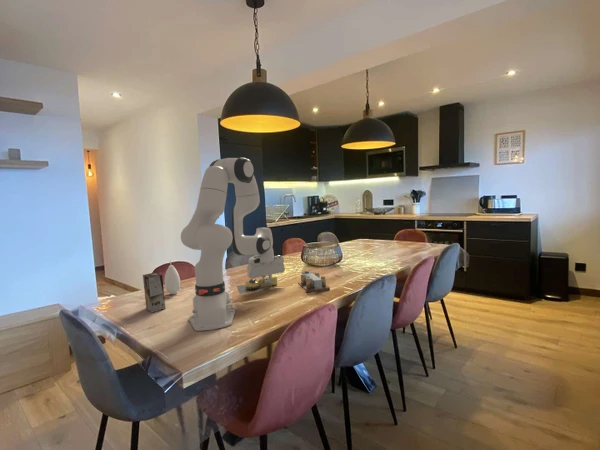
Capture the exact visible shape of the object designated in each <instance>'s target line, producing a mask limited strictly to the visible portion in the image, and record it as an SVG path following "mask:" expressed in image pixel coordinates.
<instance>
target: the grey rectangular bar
mask: <svg viewBox="0 0 600 450" xmlns="http://www.w3.org/2000/svg"><path fill="white" fill-rule="evenodd" d="M301 274H305V278H311V287H312V288H313V289H321V288H322V279H321V277H320V278H318V277H317V276H315V273H313V272H312V271H309V270H305V271H303V272H301Z"/></svg>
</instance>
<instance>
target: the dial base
mask: <svg viewBox="0 0 600 450" xmlns="http://www.w3.org/2000/svg"><path fill="white" fill-rule="evenodd" d="M236 287H237V288H236V289H237V291H238V293H239V294H240V295H241V294H249V293H256V292H263V291H270V290H275V288H274V285H270V286H262V287H260V288H257V289H246V287H245V284H240V285H236Z"/></svg>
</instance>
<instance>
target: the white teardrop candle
mask: <svg viewBox="0 0 600 450" xmlns="http://www.w3.org/2000/svg"><path fill="white" fill-rule="evenodd" d="M164 287H165V290H166V292H167V293H169V294H170V295H176V294H177V293H178V292H179V291H180V288H181V278H180V273H178V270H177V269H176V267H175V266H174V265H172V261H171V260H170V265H168V268H167V269H166V271H165V275H164Z"/></svg>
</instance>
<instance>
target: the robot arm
mask: <svg viewBox="0 0 600 450" xmlns="http://www.w3.org/2000/svg"><path fill="white" fill-rule="evenodd" d="M229 183H230V184H233V186H234V192H235V205H234V206H233V207H232V209H231V211H232V212H231V228H232V229H230V228H229V227H228V226H226V225H223V224H219V223H216V222H217V220H218V219H219V218H220V216H222V215H223V214H224V212H225V208H226V203H227V196H228V188H229V187H228V186H229V185H228V184H229ZM260 199H261V198H260V192H259V187H258V183H257V180H256V176H255V167H254V163H253V162H252V161H251V159H249V158H246V157H225V158H221V159H216V160H213V161H212V162H211V163H210V164H209V166H208V167H206V169H205V171H204V174H203V177H202V181H201V183H200V188H199V195H198V198H197V203H196V208H195V211H194V212H193V215H192V216H191V219H190V221H189V222H188V224H187V225H186V226H185V227H184V228H183V229H182V231H181V233H180V240H181V243H182V244H183V246H185V247H187V248H189V249H192V250H195V251H196V250H197V251H200V256H199V260H198V262H196V264H195V265H194V275H195V284H194V290H195V292H194V293H195V296H194V297H193V298H192V315H190V316H188V320H189V322H190V324H191V326H192V328H193V330H194V331H196V332H197V331H199V332H200V331H201V332H203V331H212V330H217V329H222V328H226V327H229V326H231V325H232V324H233V323H234V322H233V321H234V318H235V315H236V309H235V308H234V309H232V303H231V298H230V294H229V292H227V291H226V284H225V283H226V282H225V281H224V271H223V269H224V267H223V262H224V257H225V254H226V251H227V250H228V249H229V248H231V249H232V251H233V252H234V254H236V255H237V256H250V255H251V256H250V257H249V258H248V260H247V261H248V264H247V268H246V269H247V270H246V273H247V277H249V278H250V279H255V278H263V280H264V284H267V283H270V280H271V277H273V275H276V274H282V273H284V272H285V263H284V260H285V258H284V256H282V255H275V254H274V253H275V251H274V248H273V244H274V239H273V233H272V230H271V228H270V227H263V226H262V227H257V228H256V230H255V234H254V235H245V234H244V223H243V222H244V218H245V217H246V216H247V215H249V214H251V213H252V212H254V211H256V209H258V207H259V206H260V203H261V202H260ZM267 276H268V279H267V280H266V279H265V278H266V277H267Z"/></svg>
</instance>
